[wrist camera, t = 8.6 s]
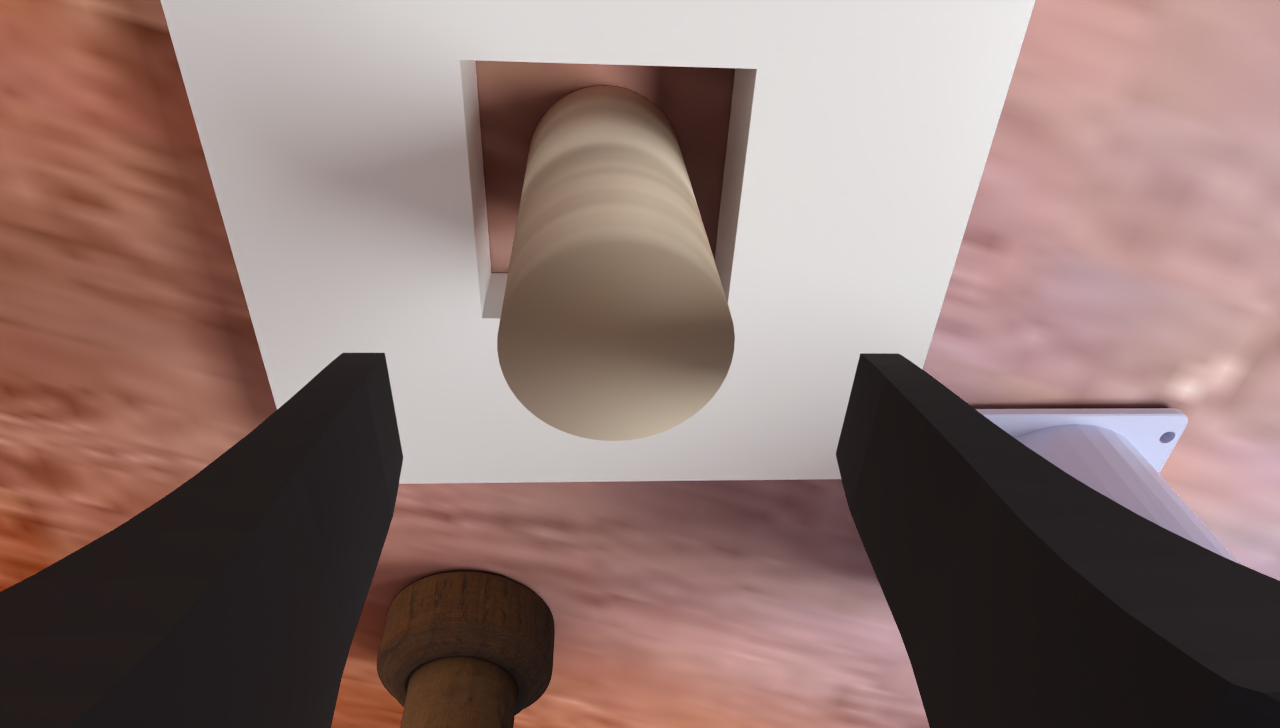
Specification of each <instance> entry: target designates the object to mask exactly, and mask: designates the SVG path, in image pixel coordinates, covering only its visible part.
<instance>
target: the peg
mask: <svg viewBox="0 0 1280 728" xmlns="http://www.w3.org/2000/svg"><path fill="white" fill-rule="evenodd" d="M734 343H735V335H734V325H733V321H732V317H731V313H730V310H729V306H728V303H727V300H726V297H725V293H724V290H723V287H722V284H721V280H720V277H719V274H718V271H717V267H716V264H715V261H714V258H713V254H712V251H711V248H710V245H709V241H708V238H707V235H706V232H705V228H704V225H703V222H702V219H701V215H700V212H699V209H698V206H697V202H696V199H695V196H694V193H693V189H692V186H691V183H690V180H689V176H688V173H687V170H686V167H685V163H684V160H683V157H682V154H681V150H680V147H679V144H678V141H677V137H676V135H675V132H674V130H673V128H672V126H671V124H670V122H669V121H668V119H667V118H666V116H665V115H664V114H663V112H662V111H661V110H660V109H659V108H658V107H657V106H656V105H655V104H654V103H652V102H651V101H650V100H648V99H647V98H646V97H644V96H642V95H640V94H638V93H636V92H634V91H631V90H628V89H625V88H621V87H617V86H592V87H587V88H583V89H580V90H577V91H574V92H572V93H570V94H568V95H566V96H564V97H563V98H561V99H560V100H558V101H557V102H556V103H555V104H554V105H552V106H551V107H550V108H549V109H548V111H547V112H546V113H545V114H544V115H543V117H542V118H541V120H540V121H539V123H538V125H537V127H536V129H535V131H534V133H533V136H532V140H531V143H530V149H529V155H528V161H527V167H526V172H525V178H524V184H523V190H522V196H521V201H520V207H519V213H518V219H517V225H516V231H515V236H514V242H513V248H512V254H511V260H510V265H509V271H508V277H507V283H506V289H505V294H504V300H503V306H502V312H501V318H500V323H499V329H498V336H497V351H498V358H499V364H500V367H501V370H502V373H503V376H504V378H505V380H506V382H507V384H508V386H509V388H510V389H511V391H512V392H513V394H514V395H515V397H516V398H517V399H518V400H519V401H520V402H521V403H522V405H523V406H524V407H525V408H526V409H528V410H529V411H530V412H531V413H532V414H533V415H535V416H536V417H537V418H539V419H540V420H542V421H543V422H545V423H546V424H548V425H550V426H552V427H554V428H556V429H558V430H560V431H563V432H566V433H568V434H571V435H575V436H579V437H582V438H587V439H594V440H601V441H624V440H633V439H640V438H645V437H648V436H652V435H656V434H659V433H661V432H664V431H667V430H669V429H671V428H673V427H675V426H677V425H679V424H681V423H683V422H684V421H686V420H687V419H689V418H690V417H692V416H693V415H695V414H696V413H697V412H698V411H699V410H701V409H702V408H703V407H704V406H705V405H706V404H707V403H708V402H709V401H710V400H711V399H712V398H713V396H714V395H715V394H716V392H717V391H718V390H719V388H720V387H721V385H722V383H723V381H724V380H725V378H726V376H727V373H728V371H729V368H730V365H731V362H732V358H733V353H734Z"/></svg>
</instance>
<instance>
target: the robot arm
mask: <svg viewBox="0 0 1280 728" xmlns="http://www.w3.org/2000/svg"><path fill="white" fill-rule="evenodd" d="M1187 422H1188V418H1187V416H1186V415H1184V414H1183V413H1182V412H1181V411H1180V410H1179V409H1175V408H1113V409H974V408H973V407H971V406H970V405H969V404H967V403H966V402H965V401H963V400H962V399H961V398H960V397H958V396H957V395H956V394H954V393H953V392H952V391H950V390H949V389H948V388H946V387H945V386H944V385H942V384H941V383H940V382H938V381H937V380H936V379H934V378H933V377H932V376H930V375H929V374H928V373H926V372H925V371H924V370H922V369H921V368H920V367H918V366H917V365H915V364H914V363H913V362H911V361H910V360H908V359H907V358H905V357H904V356H902V355H900V354H892V353H860V357H859V361H858V365H857V369H856V373H855V377H854V381H853V385H852V389H851V394H850V398H849V402H848V406H847V410H846V414H845V418H844V422H843V426H842V430H841V434H840V438H839V442H838V446H837V450H836V458H837V462H838V466H839V471H840V475H841V479H842V483H843V487H844V491H845V495H846V498H847V502H848V506H849V509H850V512H851V515H852V517H853V520H854V522H855V525H856V527H857V530H858V532H859V535H860V537H861V540H862V542H863V545H864V547H865V550H866V552H867V554H868V557H869V559H870V562H871V564H872V566H873V569H874V571H875V574H876V576H877V578H878V581H879V583H880V586H881V588H882V590H883V593H884V595H885V598H886V600H887V603H888V605H889V607H890V610H891V612H892V615H893V617H894V619H895V622H896V624H897V627H898V629H899V631H900V634H901V637H902V639H903V642H904V645H905V648H906V650H907V653H908V656H909V659H910V661H911V665H912V668H913V671H914V675H915V678H916V682H917V685H918V688H919V692H920V695H921V699H922V702H923V705H924V709H925V712H926V716H927V719H928V722H929V726H930V728H1280V581H1278V580H1276V579H1273V578H1271V577H1268V576H1266V575H1264V574H1261V573H1259V572H1257V571H1254V570H1252V569H1250V568H1248V567H1245V566H1243V565H1241V564H1240V563H1239V562H1238V561H1237V560H1236V559H1235V557H1234V556H1233V555H1232V554H1231V553H1230V552H1229V551H1228V550H1227V549H1226V547H1225V546H1224V545H1223V544H1222V543H1221V542H1220V541H1219V540H1218V539H1217V537H1216V536H1215V535H1214V534H1213V533H1212V532H1211V531H1210V530H1209V529H1208V527H1207V526H1206V525H1205V524H1204V523H1203V522H1202V521H1201V520H1200V519H1199V517H1198V516H1197V515H1196V514H1195V513H1194V512H1193V511H1192V510H1191V509H1190V507H1189V506H1188V505H1187V504H1186V503H1185V502H1184V501H1183V500H1182V499H1181V497H1180V496H1179V495H1178V494H1177V493H1176V492H1175V491H1174V490H1173V489H1172V487H1171V486H1170V485H1169V484H1168V483H1167V482H1166V481H1165V480H1164V479H1163V477H1162V476H1161V475H1160V474H1159V473H1160V471H1161V469H1162V467H1163V466H1164V464H1165V462H1166V460H1167V459H1168V457H1169V455H1170V453H1171V452H1172V450H1173V448H1174V446H1175V445H1176V443H1177V441H1178V440H1179V438H1180V436H1181V434H1182V433H1183V431H1184V429H1185V427H1186V425H1187ZM402 462H403V454H402V448H401V442H400V436H399V431H398V425H397V419H396V414H395V408H394V402H393V397H392V391H391V385H390V380H389V374H388V368H387V363H386V357H385V353H342V354H341V355H339V356H338V357H337V358H336V359H334V360H333V361H332V362H331V363H330V364H329V365H327V366H326V367H325V368H324V369H323V370H322V371H321V372H320V373H318V374H317V375H316V376H315V377H314V378H313V379H312V380H311V381H309V382H308V383H307V384H306V385H305V386H304V387H303V388H302V389H301V390H299V391H298V392H297V393H296V394H295V395H294V396H293V397H292V398H290V399H289V400H288V401H287V402H286V403H285V404H283V405H282V406H281V407H280V408H279V409H278V410H276V411H275V412H274V413H273V414H272V415H271V416H269V417H268V418H267V419H266V420H265V421H264V422H262V423H261V424H260V425H259V426H258V427H257V428H255V429H254V430H253V431H252V432H251V433H249V434H248V435H247V436H246V437H244V438H243V439H242V440H240V441H239V442H238V443H237V444H235V445H234V446H233V447H231V448H230V449H229V450H228V451H226V452H225V453H224V454H222V455H221V456H220V457H219V458H217V459H216V460H215V461H213V462H212V463H211V464H210V465H208V466H207V467H206V468H204V469H203V470H202V471H200V472H199V473H198V474H197V475H195V476H194V477H193V478H191V479H190V480H188V481H187V482H186V483H184V484H183V485H181V486H180V487H179V488H177V489H176V490H174V491H173V492H171V493H170V494H168V495H167V496H165V497H164V498H163V499H161V500H160V501H158V502H156V503H155V504H153V505H152V506H150V507H149V508H147V509H146V510H144V511H143V512H141V513H139V514H138V515H136V516H135V517H133V518H132V519H130V520H129V521H127V522H126V523H124V524H122V525H121V526H119V527H117V528H116V529H114V530H113V531H111V532H109V533H107V534H106V535H104V536H102V537H100V538H99V539H97V540H95V541H93V542H91V543H90V544H88V545H86V546H84V547H83V548H81V549H79V550H77V551H76V552H74V553H72V554H70V555H68V556H67V557H65V558H63V559H61V560H60V561H58V562H56V563H54V564H53V565H51V566H49V567H47V568H45V569H44V570H42V571H40V572H38V573H37V574H35V575H33V576H31V577H29V578H27V579H25V580H23V581H21V582H19V583H17V584H15V585H13V586H11V587H9V588H7V589H5V590H3V591H1V592H0V728H331V724H332V719H333V715H334V710H335V705H336V701H337V696H338V691H339V687H340V682H341V678H342V674H343V670H344V667H345V663H346V660H347V656H348V653H349V649H350V646H351V643H352V640H353V637H354V634H355V631H356V628H357V625H358V621H359V618H360V615H361V612H362V609H363V606H364V603H365V600H366V597H367V594H368V591H369V588H370V585H371V582H372V579H373V576H374V573H375V570H376V567H377V564H378V561H379V558H380V555H381V552H382V548H383V545H384V542H385V539H386V536H387V533H388V530H389V526H390V523H391V520H392V517H393V512H394V507H395V502H396V497H397V491H398V486H399V480H400V474H401V468H402Z"/></svg>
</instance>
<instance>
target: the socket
mask: <svg viewBox="0 0 1280 728" xmlns="http://www.w3.org/2000/svg"><path fill="white" fill-rule="evenodd" d="M160 1H161V4H162V8H163V11H164V15H165V18H166V22H167V25H168V29H169V32H170V36H171V39H172V43H173V46H174V50H175V53H176V57H177V60H178V64H179V67H180V71H181V74H182V78H183V81H184V85H185V88H186V92H187V95H188V99H189V102H190V106H191V109H192V113H193V116H194V120H195V123H196V127H197V131H198V134H199V138H200V141H201V145H202V148H203V152H204V155H205V159H206V162H207V166H208V169H209V173H210V176H211V180H212V183H213V187H214V190H215V194H216V197H217V201H218V204H219V208H220V211H221V215H222V218H223V222H224V225H225V229H226V232H227V236H228V239H229V243H230V246H231V250H232V253H233V257H234V260H235V264H236V267H237V271H238V275H239V278H240V282H241V285H242V289H243V292H244V296H245V299H246V303H247V306H248V310H249V313H250V317H251V320H252V324H253V327H254V331H255V334H256V338H257V341H258V345H259V348H260V352H261V355H262V359H263V362H264V366H265V369H266V373H267V376H268V380H269V383H270V387H271V390H272V394H273V397H274V401H275V404H276V408H277V410H278V409H279V408H280V407H281V406H282V405H283V404H285V403H286V402H287V401H288V400H289V399H290V398H292V397H293V396H294V395H295V394H296V393H297V392H298V391H299V390H301V389H302V388H303V387H304V386H305V385H306V384H307V383H308V382H309V381H311V380H312V379H313V378H314V377H315V376H316V375H317V374H318V373H320V372H321V371H322V370H323V369H324V368H325V367H326V366H327V365H329V364H330V363H331V362H332V361H333V360H334V359H336V358H337V357H338V356H339V355H341V354H342V353H385V357H386V363H387V368H388V374H389V380H390V385H391V391H392V397H393V402H394V408H395V414H396V419H397V425H398V431H399V436H400V442H401V448H402V454H403V462H402V468H401V474H400V480H399V484H427V483H522V482H617V481H713V480H808V479H841V475H840V471H839V466H838V462H837V458H836V450H837V446H838V442H839V438H840V434H841V430H842V426H843V422H844V418H845V414H846V410H847V406H848V402H849V398H850V394H851V389H852V385H853V381H854V377H855V373H856V369H857V365H858V361H859V357H860V353H892V354H900V355H902V356H904V357H905V358H907V359H908V360H910V361H911V362H913V363H914V364H915V365H917V366H918V367H920V368H921V369H923V366H924V362H925V359H926V356H927V352H928V349H929V346H930V343H931V339H932V336H933V333H934V330H935V326H936V323H937V320H938V317H939V313H940V310H941V307H942V304H943V300H944V297H945V294H946V290H947V287H948V284H949V281H950V277H951V274H952V271H953V268H954V264H955V261H956V258H957V255H958V251H959V248H960V245H961V242H962V238H963V235H964V232H965V228H966V225H967V222H968V219H969V215H970V212H971V209H972V206H973V202H974V199H975V196H976V193H977V189H978V186H979V183H980V180H981V176H982V173H983V170H984V166H985V163H986V160H987V157H988V153H989V150H990V147H991V144H992V140H993V137H994V134H995V131H996V127H997V124H998V121H999V118H1000V114H1001V111H1002V108H1003V104H1004V101H1005V98H1006V95H1007V91H1008V88H1009V85H1010V82H1011V78H1012V75H1013V72H1014V69H1015V65H1016V62H1017V59H1018V55H1019V52H1020V49H1021V46H1022V42H1023V39H1024V36H1025V33H1026V29H1027V26H1028V23H1029V20H1030V16H1031V13H1032V10H1033V7H1034V3H1035V0H160ZM475 60H476V61H510V62H543V63H577V64H610V65H644V66H677V67H711V68H735V75H734V84H733V94H732V103H731V112H730V121H729V131H728V140H727V149H726V158H725V167H724V177H723V186H722V195H721V204H720V213H719V223H718V232H717V241H716V250H715V259H714V261H715V264H716V267H717V271H718V274H719V277H720V280H721V284H722V287H723V290H724V293H725V297H726V300H727V303H728V306H729V310H730V313H731V317H732V321H733V325H734V335H735V343H734V353H733V358H732V362H731V365H730V368H729V371H728V373H727V376H726V378H725V380H724V381H723V383H722V385H721V387H720V388H719V390H718V391H717V392H716V394H715V395H714V396H713V398H712V399H711V400H710V401H709V402H708V403H707V404H706V405H705V406H704V407H703V408H702V409H701V410H699V411H698V412H697V413H696V414H695V415H693V416H692V417H690V418H689V419H687V420H686V421H684V422H683V423H681V424H679V425H677V426H675V427H673V428H671V429H669V430H667V431H664V432H661V433H659V434H656V435H652V436H648V437H645V438H640V439H633V440H624V441H601V440H594V439H587V438H582V437H579V436H575V435H571V434H568V433H566V432H563V431H560V430H558V429H556V428H554V427H552V426H550V425H548V424H546V423H545V422H543V421H542V420H540V419H539V418H537V417H536V416H535V415H533V414H532V413H531V412H530V411H529V410H528V409H526V408H525V407H524V406H523V405H522V403H521V402H520V401H519V400H518V399H517V398H516V397H515V395H514V394H513V392H512V391H511V389H510V388H509V386H508V384H507V382H506V380H505V378H504V376H503V373H502V370H501V367H500V364H499V358H498V351H497V336H498V329H499V323H500V318H501V312H502V306H503V300H504V294H505V289H506V283H507V277H508V273H491V261H490V248H489V234H488V221H487V208H486V194H485V181H484V168H483V154H482V141H481V127H480V114H479V101H478V87H477V74H476V61H475Z"/></svg>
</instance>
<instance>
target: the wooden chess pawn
mask: <svg viewBox="0 0 1280 728" xmlns="http://www.w3.org/2000/svg"><path fill="white" fill-rule="evenodd" d="M553 650H554V620H553V616H552V613H551V611H550V609H549V607H548V606H547V604H546V603H545V602H544V601H543V599H542V598H541V597H540V596H538V595H537V594H536V593H535V592H533V591H532V590H531V589H529V588H527V587H524V586H522V585H519V584H517V583H515V582H513V581H511V580H510V579H508V578H505V577H502V576H498V575H494V574H489V573H483V572H470V571H462V572H449V573H441V574H436V575H432V576H429V577H426V578H423V579H421V580H419V581H417V582H415V583H413V584H411V585H409V586H408V587H406V588H405V589H403V590H402V591H401V592H400V593H399V594H398V595H397V596H396V597H395V599H394V600H393V602H392V603H391V605H390V608H389V610H388V613H387V617H386V621H385V625H384V630H383V635H382V639H381V643H380V647H379V652H378V657H377V671H378V675H379V678H380V680H381V682H382V684H383V685H384V687H385V688H386V689H387V691H388V692H389V693H390V694H391V695H392V696H393V697H395V698H396V699H397V701H398V702H399V703H400V704H401V705H402V706H403V707H404V711H403V716H402V721H401V727H400V728H513V724H514V716H515V715H516V714H518V713H519V712H520V711H522V710H523V709H525V708H526V707H528V706H530V705H531V704H533V703H534V702H535V701H537V700H538V699H539V698H540V697H541V696H542V694H543V693H544V692H545V690H546V689H547V687H548V685H549V683H550V680H551V675H552V667H553Z"/></svg>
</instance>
